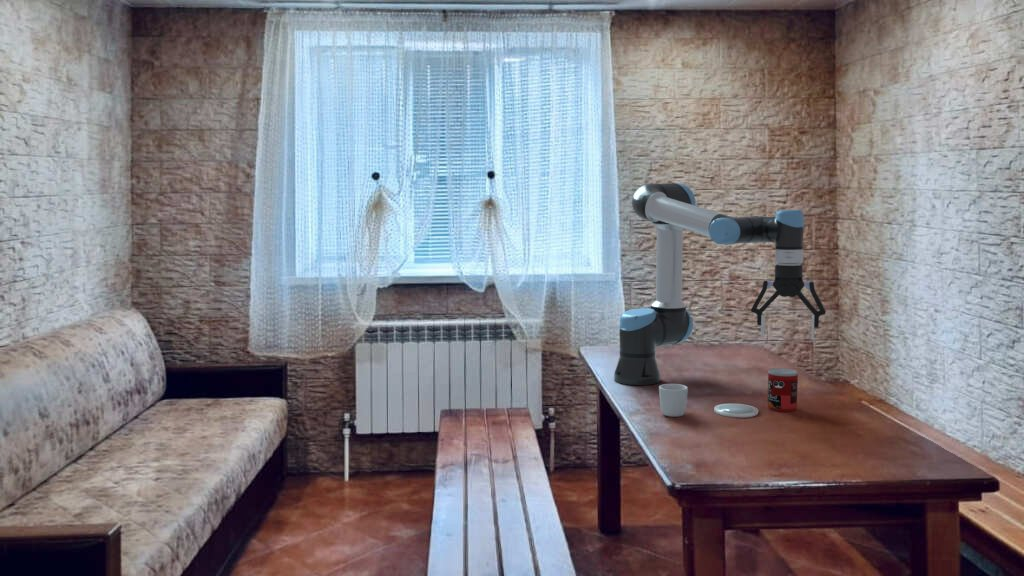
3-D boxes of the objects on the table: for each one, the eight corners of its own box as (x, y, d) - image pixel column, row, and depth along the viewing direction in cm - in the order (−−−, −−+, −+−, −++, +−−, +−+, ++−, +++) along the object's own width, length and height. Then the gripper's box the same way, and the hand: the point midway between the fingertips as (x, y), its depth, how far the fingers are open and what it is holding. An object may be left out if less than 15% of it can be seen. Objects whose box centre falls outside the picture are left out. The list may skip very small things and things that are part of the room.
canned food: (763, 405, 238) (764, 368, 237) (789, 404, 239) (790, 367, 238) (773, 412, 231) (774, 374, 229) (801, 411, 231) (802, 373, 230)
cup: (669, 407, 238) (669, 380, 237) (695, 411, 233) (696, 383, 232) (653, 416, 229) (654, 387, 228) (680, 420, 224) (681, 391, 223)
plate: (709, 414, 230) (709, 411, 229) (719, 404, 240) (720, 401, 240) (753, 419, 224) (753, 416, 224) (761, 409, 234) (762, 406, 234)
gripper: (742, 264, 234) (741, 337, 237) (836, 265, 225) (834, 341, 228) (744, 262, 241) (743, 333, 244) (835, 263, 232) (833, 337, 235)
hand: (787, 337), depth 236 cm, fingers open, 13 cm apart
